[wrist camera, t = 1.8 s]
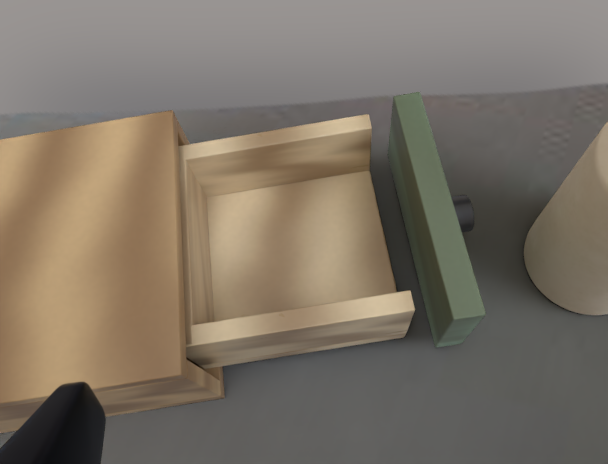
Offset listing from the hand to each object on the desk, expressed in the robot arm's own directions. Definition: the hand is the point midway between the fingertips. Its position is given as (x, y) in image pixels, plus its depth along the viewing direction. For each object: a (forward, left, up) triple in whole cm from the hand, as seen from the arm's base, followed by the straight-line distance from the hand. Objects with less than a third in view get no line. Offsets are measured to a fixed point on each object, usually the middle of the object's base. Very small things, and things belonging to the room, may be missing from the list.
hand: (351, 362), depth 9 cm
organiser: (+13, +5, -15) cm, 21 cm away
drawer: (+6, -5, -14) cm, 16 cm away
